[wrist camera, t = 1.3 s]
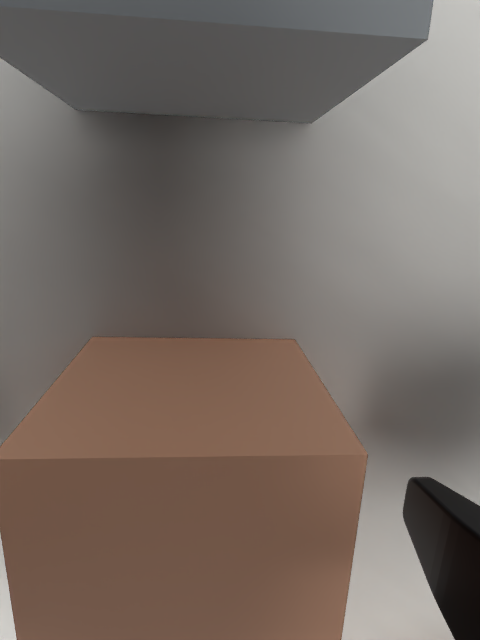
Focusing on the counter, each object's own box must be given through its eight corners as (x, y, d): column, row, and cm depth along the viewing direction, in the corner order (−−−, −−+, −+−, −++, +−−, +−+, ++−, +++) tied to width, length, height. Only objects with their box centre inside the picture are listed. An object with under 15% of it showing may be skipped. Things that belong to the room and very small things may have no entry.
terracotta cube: (294, 338, 10) (367, 454, 6) (281, 501, 12) (331, 706, 7) (92, 335, 10) (-10, 458, 5) (103, 505, 11) (29, 726, 7)
